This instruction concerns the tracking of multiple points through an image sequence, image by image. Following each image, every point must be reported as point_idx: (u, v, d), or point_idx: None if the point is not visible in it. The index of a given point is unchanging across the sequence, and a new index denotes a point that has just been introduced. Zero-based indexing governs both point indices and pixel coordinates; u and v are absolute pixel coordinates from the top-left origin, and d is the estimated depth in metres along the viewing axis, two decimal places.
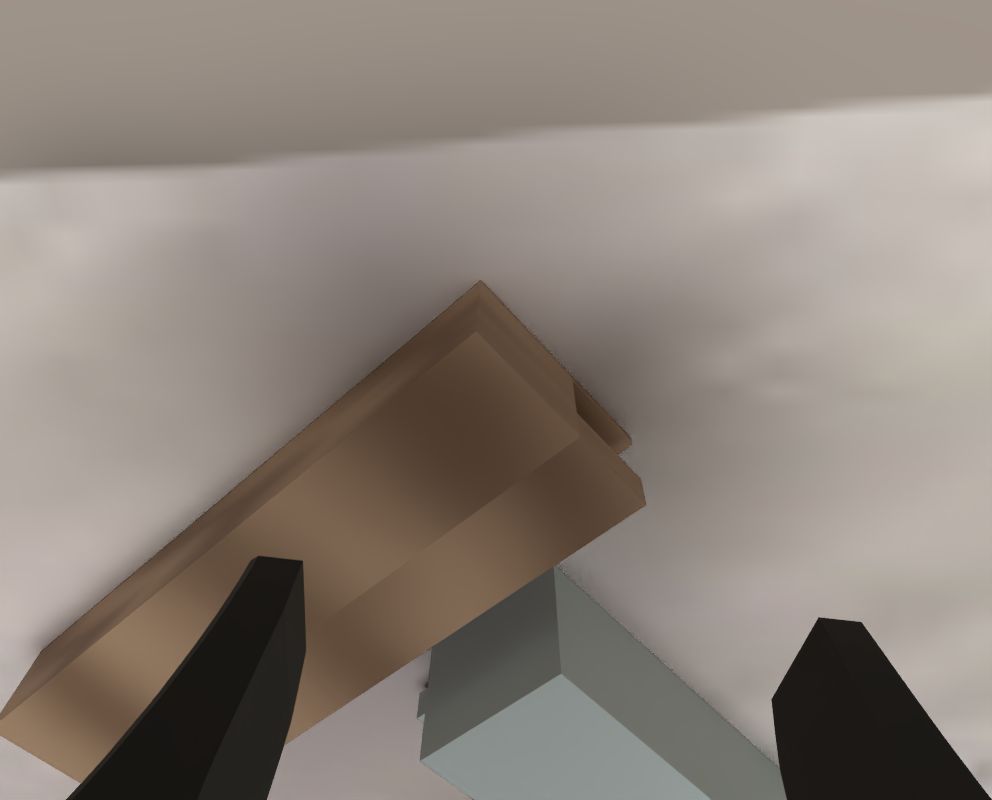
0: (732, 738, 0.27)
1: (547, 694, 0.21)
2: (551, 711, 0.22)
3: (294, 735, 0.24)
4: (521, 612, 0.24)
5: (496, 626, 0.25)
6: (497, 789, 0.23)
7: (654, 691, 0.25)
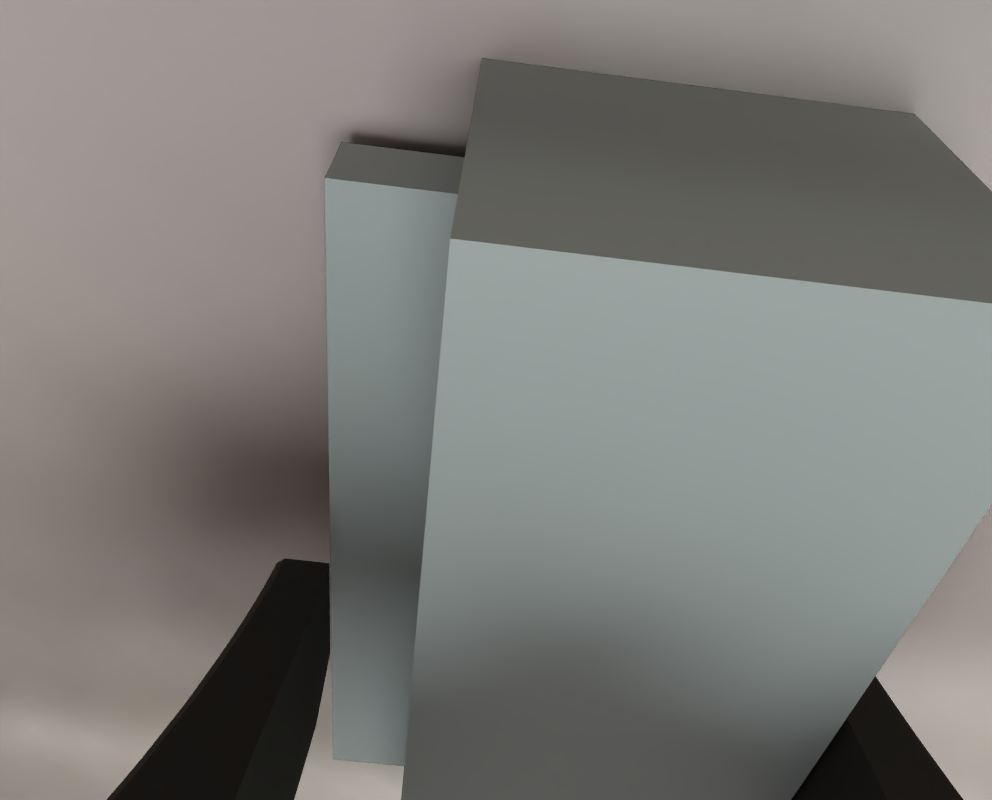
0: None
1: None
2: (929, 393, 0.07)
3: None
4: (836, 141, 0.09)
5: (738, 124, 0.09)
6: (521, 475, 0.07)
7: None
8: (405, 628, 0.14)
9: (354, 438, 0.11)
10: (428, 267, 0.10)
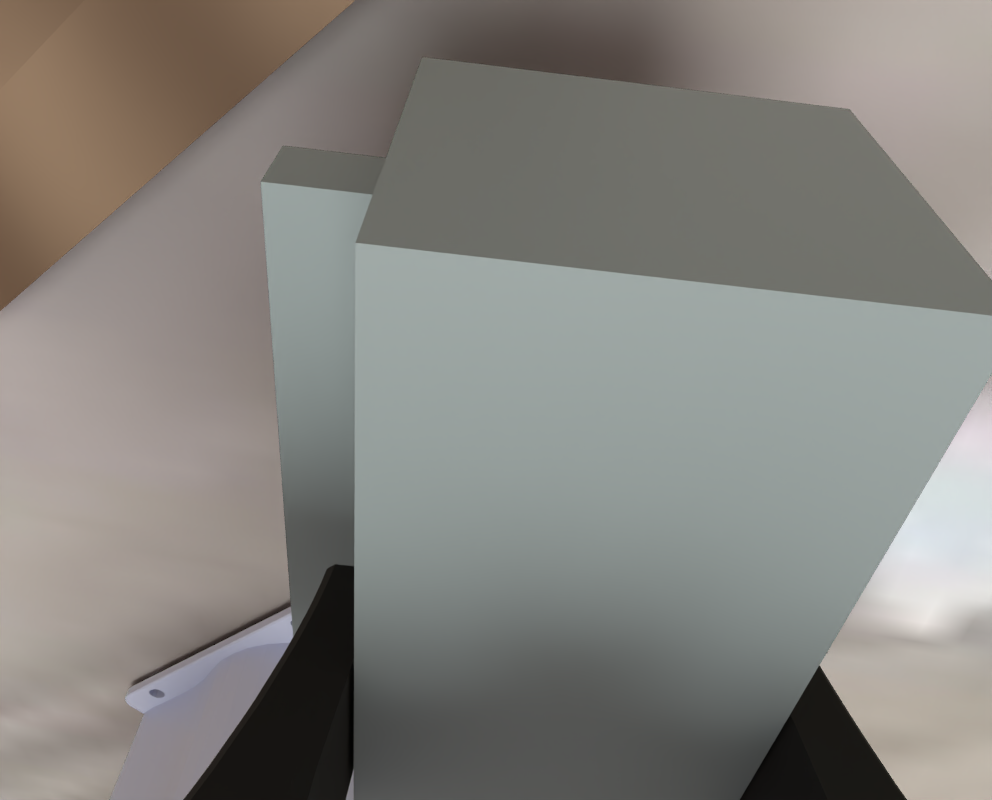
0: None
1: (908, 344, 0.06)
2: (841, 393, 0.07)
3: (105, 211, 0.15)
4: (768, 143, 0.09)
5: (669, 126, 0.09)
6: (444, 477, 0.08)
7: None
8: None
9: (304, 440, 0.11)
10: None
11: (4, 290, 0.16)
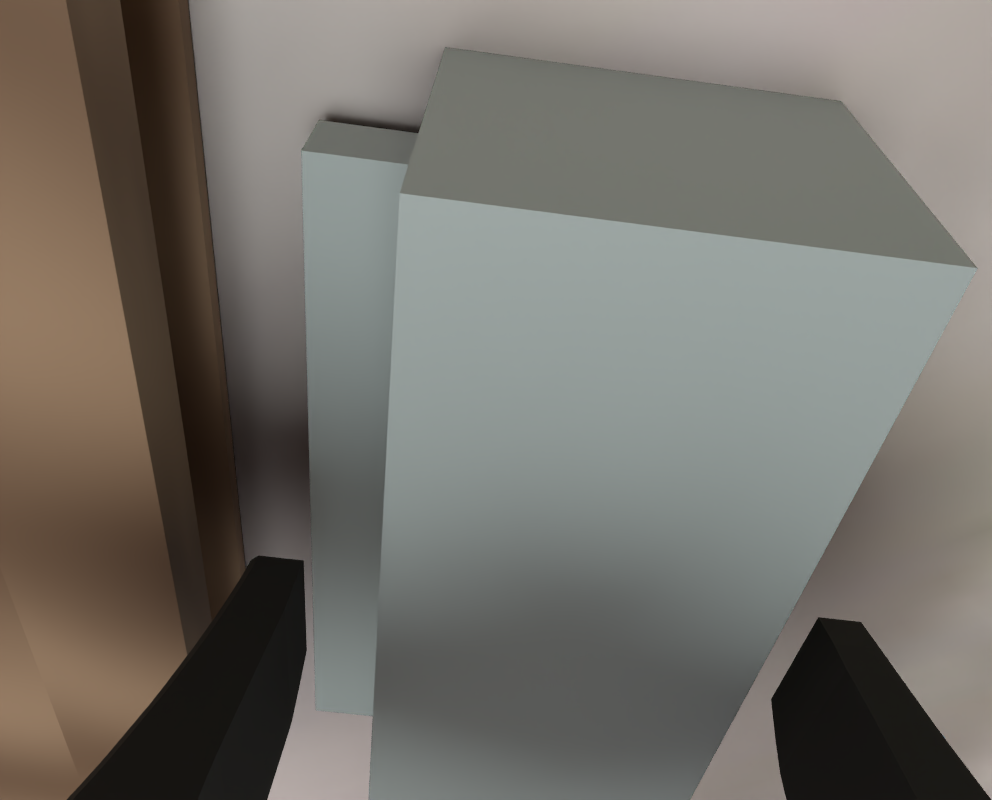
0: None
1: (878, 290, 0.07)
2: (821, 334, 0.08)
3: None
4: (760, 120, 0.10)
5: (672, 104, 0.10)
6: (469, 411, 0.08)
7: None
8: None
9: (331, 395, 0.12)
10: (395, 235, 0.11)
11: None
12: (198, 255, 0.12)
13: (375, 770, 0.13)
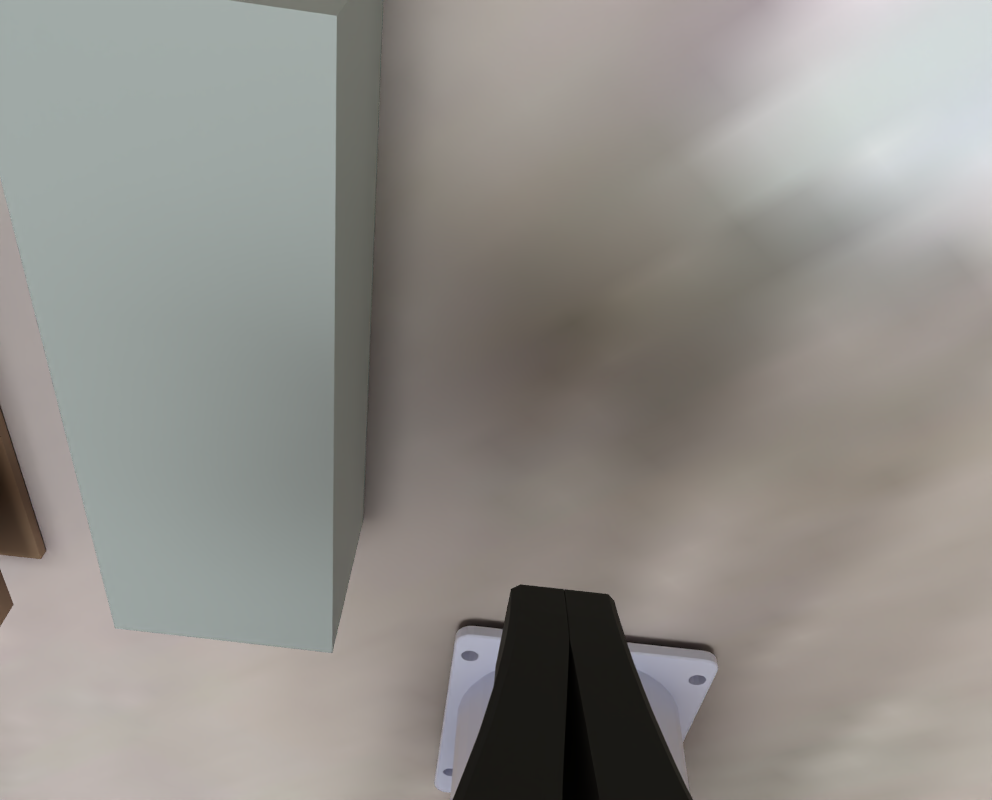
0: (363, 389, 0.19)
1: (280, 34, 0.11)
2: (256, 71, 0.11)
3: None
4: None
5: None
6: (45, 138, 0.12)
7: (361, 235, 0.16)
8: None
9: None
10: None
11: None
12: None
13: (84, 493, 0.17)
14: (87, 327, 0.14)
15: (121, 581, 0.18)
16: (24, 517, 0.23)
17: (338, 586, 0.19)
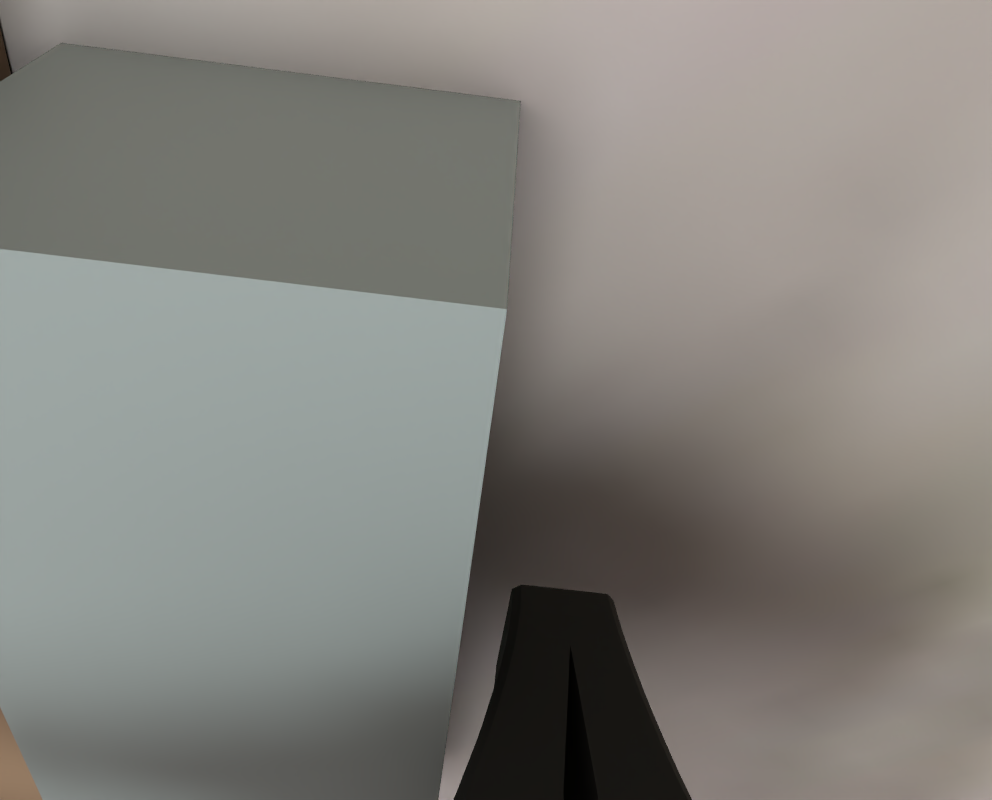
0: None
1: (398, 334, 0.06)
2: (353, 388, 0.06)
3: None
4: (389, 127, 0.08)
5: (289, 108, 0.08)
6: None
7: None
8: None
9: None
10: None
11: None
12: None
13: None
14: (68, 691, 0.09)
15: None
16: None
17: None
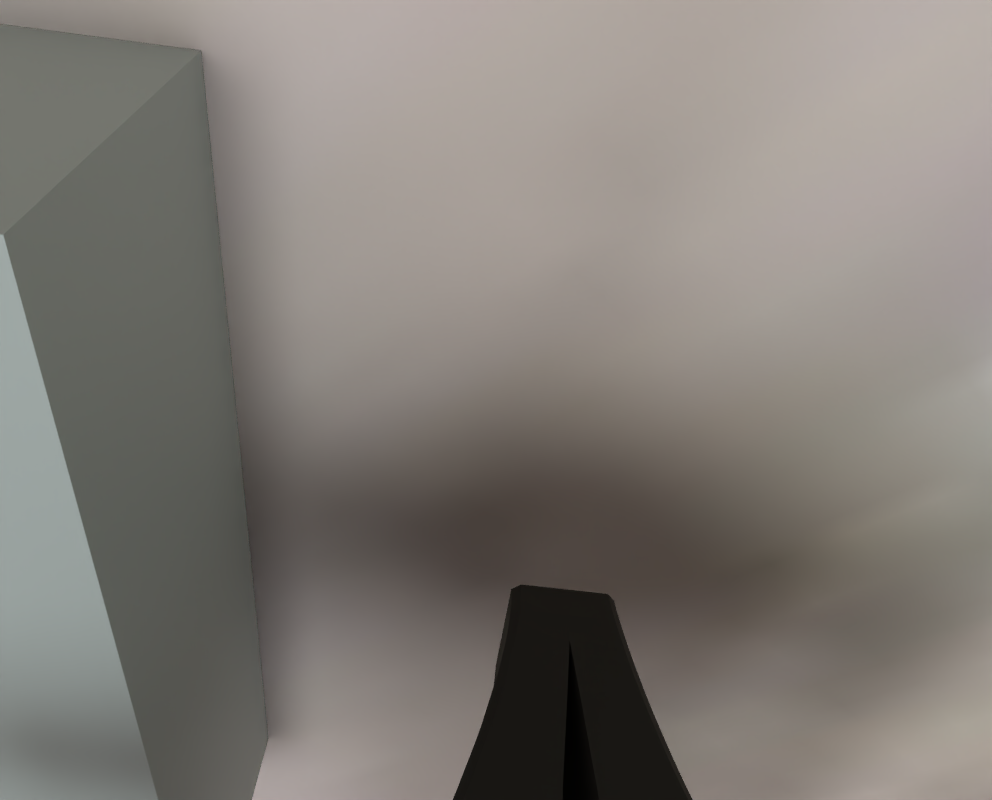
0: (241, 617, 0.14)
1: None
2: None
3: None
4: (28, 68, 0.08)
5: None
6: None
7: (192, 466, 0.10)
8: None
9: None
10: None
11: None
12: None
13: None
14: None
15: None
16: None
17: None
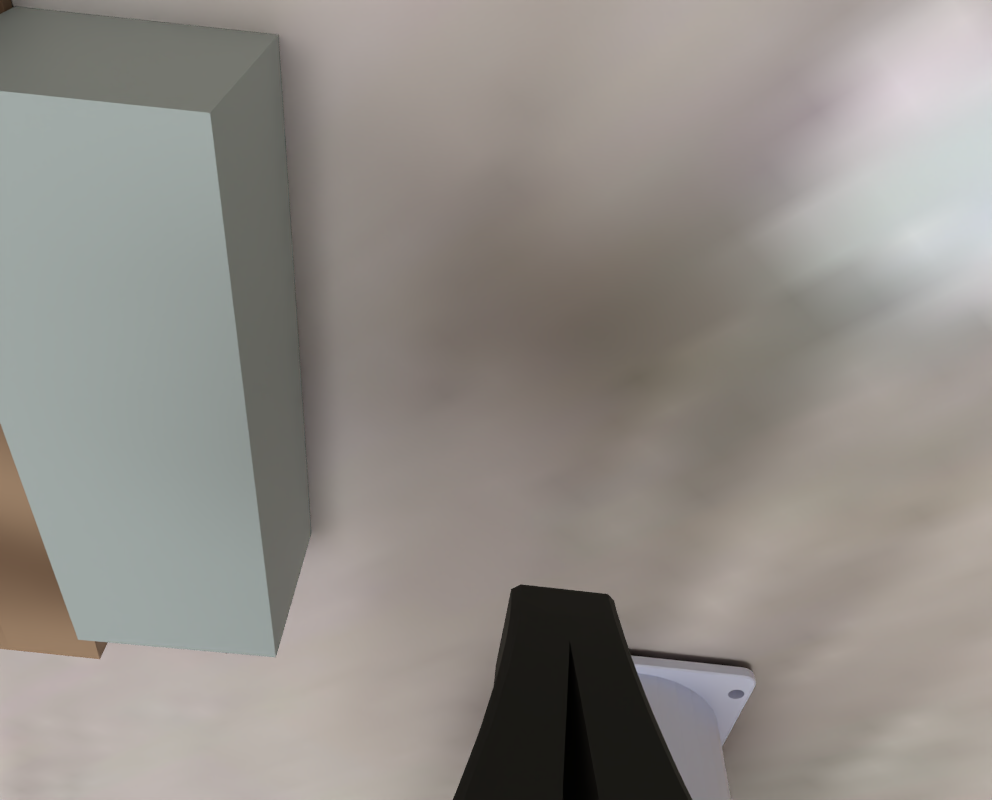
0: (295, 416, 0.21)
1: (164, 129, 0.13)
2: (148, 159, 0.13)
3: None
4: (191, 45, 0.15)
5: (138, 37, 0.15)
6: None
7: (272, 284, 0.17)
8: None
9: None
10: None
11: None
12: None
13: (38, 520, 0.19)
14: (26, 376, 0.16)
15: (79, 597, 0.20)
16: None
17: (277, 596, 0.21)
